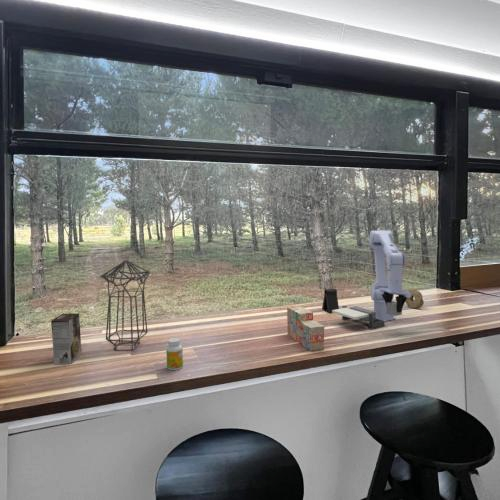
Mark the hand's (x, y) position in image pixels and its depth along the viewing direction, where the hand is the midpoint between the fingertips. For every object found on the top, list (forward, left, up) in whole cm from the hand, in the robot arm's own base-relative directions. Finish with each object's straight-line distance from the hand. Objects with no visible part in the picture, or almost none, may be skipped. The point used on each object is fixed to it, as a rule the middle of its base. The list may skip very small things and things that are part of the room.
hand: (394, 310), depth 150 cm
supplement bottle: (+93, -18, -10) cm, 95 cm away
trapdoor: (+6, -17, -7) cm, 19 cm away
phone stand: (-2, -41, -10) cm, 42 cm away
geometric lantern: (+102, -47, -10) cm, 113 cm away
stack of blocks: (+40, -13, -10) cm, 43 cm away
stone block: (0, 0, -2) cm, 2 cm away
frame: (+1, -17, -9) cm, 19 cm away
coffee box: (+124, -46, -10) cm, 133 cm away
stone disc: (-44, -20, -10) cm, 49 cm away
